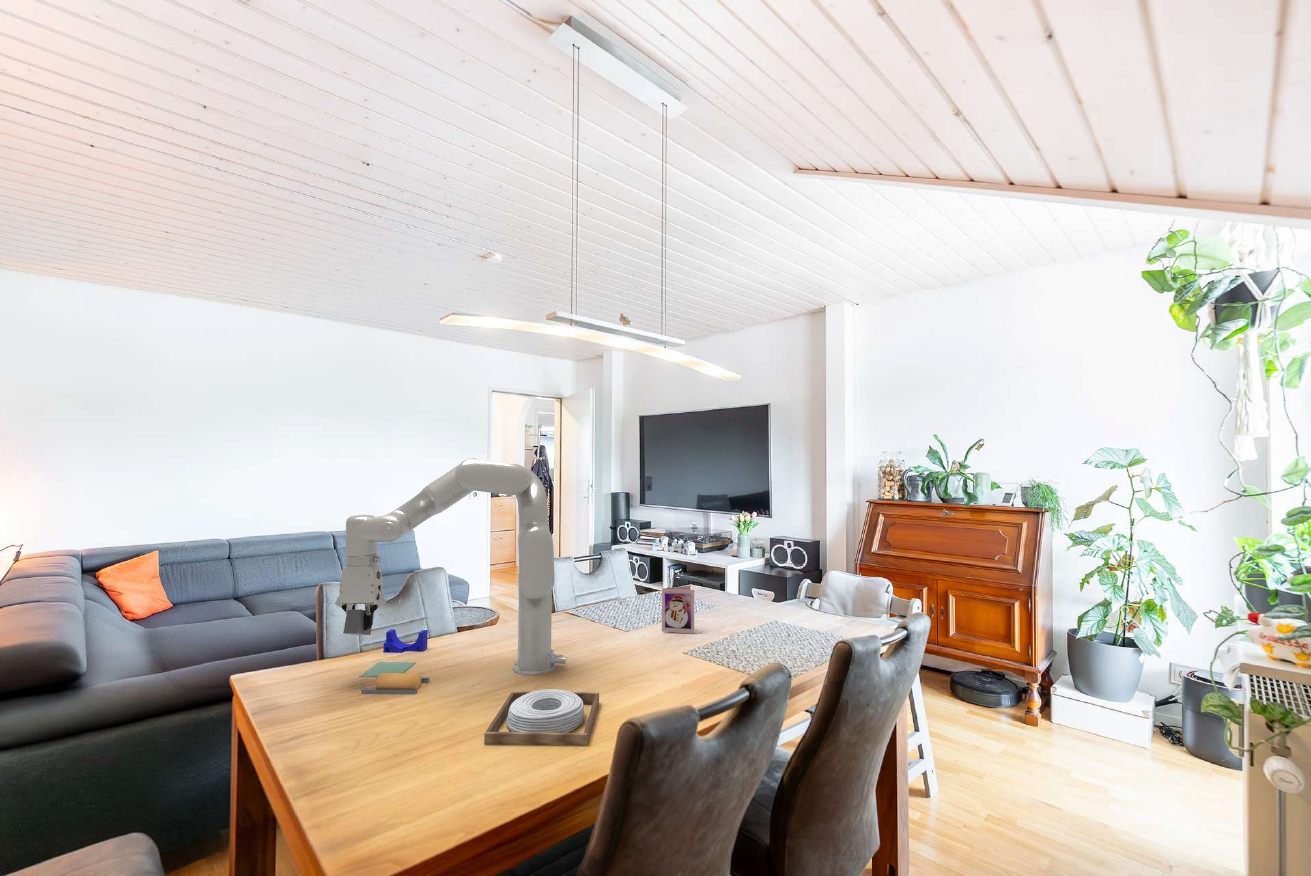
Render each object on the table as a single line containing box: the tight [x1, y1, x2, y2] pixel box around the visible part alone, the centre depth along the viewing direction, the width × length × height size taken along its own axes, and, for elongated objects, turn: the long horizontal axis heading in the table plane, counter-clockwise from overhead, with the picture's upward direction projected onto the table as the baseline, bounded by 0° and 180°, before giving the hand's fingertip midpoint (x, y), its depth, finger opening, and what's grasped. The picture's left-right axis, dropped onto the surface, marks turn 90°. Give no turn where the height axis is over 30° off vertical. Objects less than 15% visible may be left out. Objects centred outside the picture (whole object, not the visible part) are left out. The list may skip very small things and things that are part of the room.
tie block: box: [342, 608, 375, 636], centre depth 156 cm, size 4×8×6 cm, turn 0°
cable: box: [506, 688, 585, 733], centre depth 133 cm, size 18×18×6 cm
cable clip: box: [382, 628, 429, 654], centre depth 183 cm, size 12×4×6 cm, turn 87°
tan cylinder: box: [375, 672, 422, 690], centre depth 152 cm, size 10×4×4 cm, turn 89°
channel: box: [360, 676, 431, 695], centre depth 153 cm, size 14×9×2 cm, turn 89°
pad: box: [358, 661, 417, 678], centre depth 166 cm, size 11×11×1 cm
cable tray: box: [483, 690, 600, 747], centre depth 132 cm, size 22×22×4 cm
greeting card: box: [661, 585, 695, 634], centre depth 206 cm, size 11×7×15 cm, turn 80°
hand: (360, 628), depth 157 cm, fingers closed on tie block, 3 cm apart
